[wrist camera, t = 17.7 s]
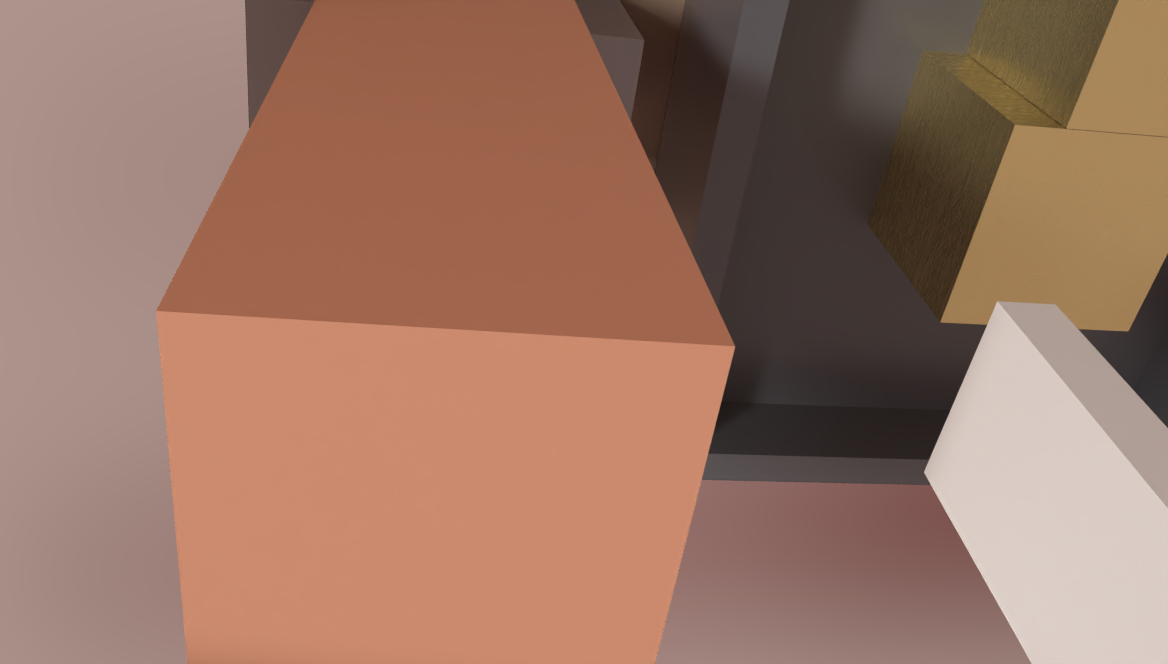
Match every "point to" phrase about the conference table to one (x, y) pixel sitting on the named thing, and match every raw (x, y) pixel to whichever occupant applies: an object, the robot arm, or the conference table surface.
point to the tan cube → (1081, 59)
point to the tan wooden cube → (1018, 203)
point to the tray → (827, 239)
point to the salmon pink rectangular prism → (437, 347)
